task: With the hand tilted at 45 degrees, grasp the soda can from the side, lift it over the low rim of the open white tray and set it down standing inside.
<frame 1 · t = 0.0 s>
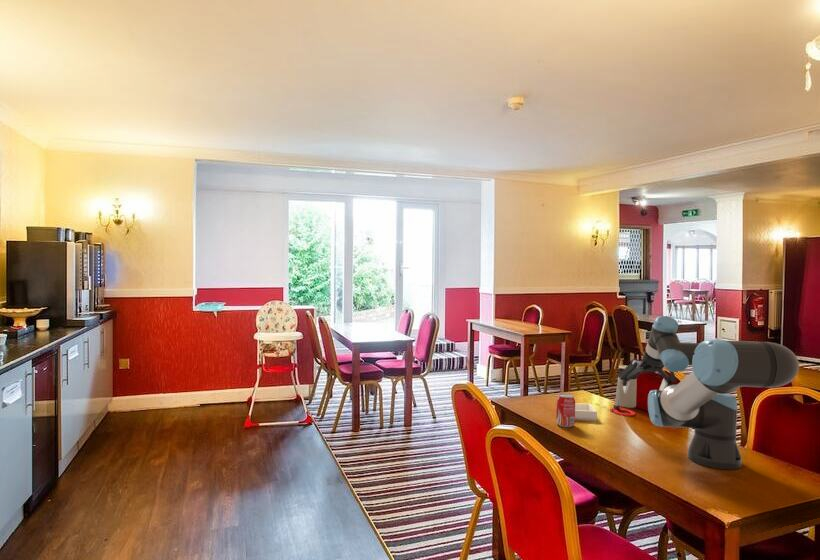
hand: (642, 391, 195), 15 cm above the table, tool tilted 35°, fingers open, 13 cm apart
soda can: (565, 425, 200), on the table
travel mug: (626, 406, 231), on the table
open white tray: (578, 416, 213), on the table
tow hook: (623, 413, 219), on the table
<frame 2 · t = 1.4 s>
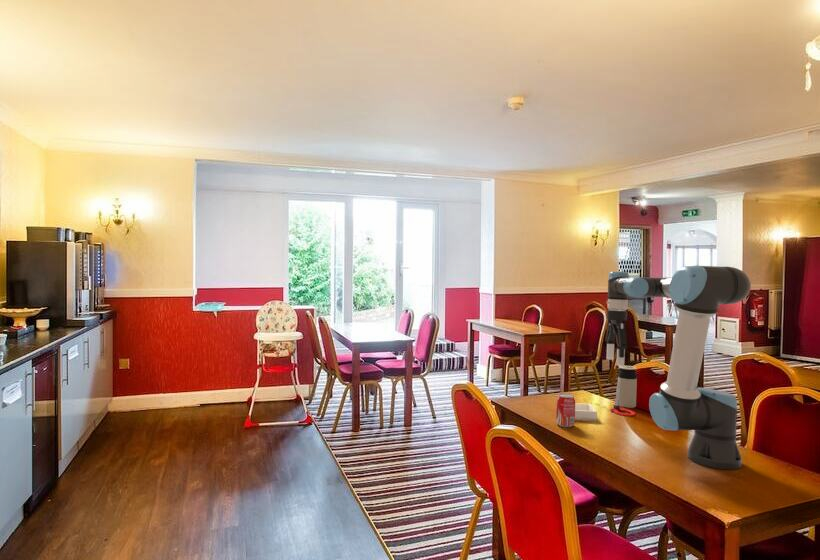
hand: (615, 362, 203), 25 cm above the table, tool pointing down, fingers open, 13 cm apart
nothing on the table moved.
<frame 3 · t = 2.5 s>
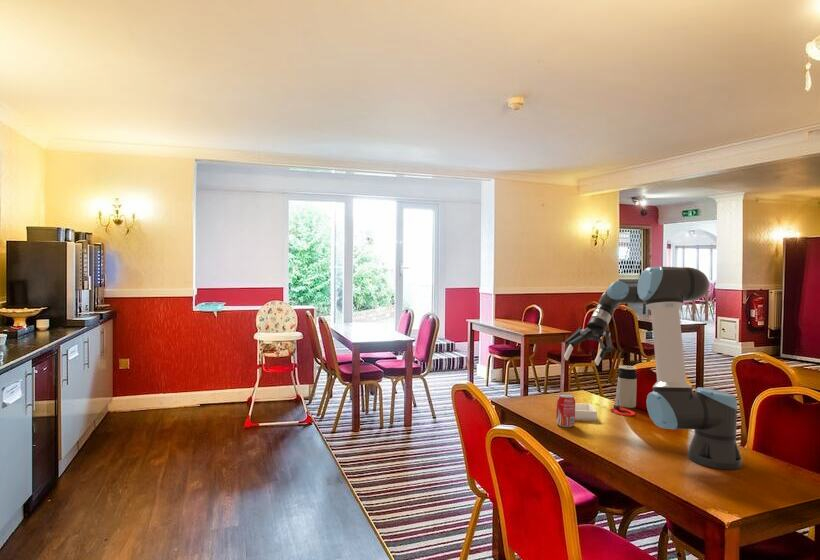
hand: (580, 360, 206), 25 cm above the table, tool tilted 45°, fingers open, 13 cm apart
nothing on the table moved.
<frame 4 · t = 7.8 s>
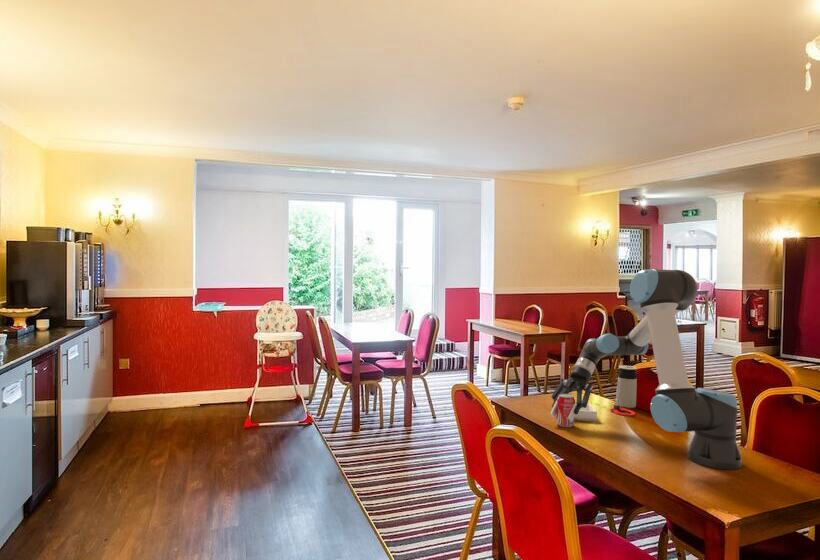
hand: (560, 417, 197), 4 cm above the table, tool tilted 45°, fingers closed on soda can, 7 cm apart
soda can: (565, 425, 200), on the table, touching gripper
everything else where it was.
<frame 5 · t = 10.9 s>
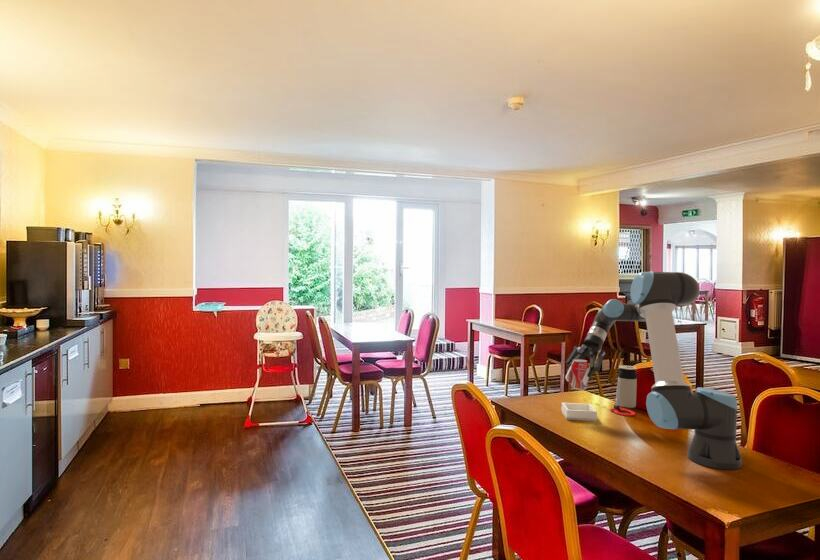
hand: (575, 380, 210), 16 cm above the table, tool tilted 45°, fingers closed on soda can, 7 cm apart
soda can: (579, 389, 212), point 12 cm above the table, touching gripper
everything else where it was.
when the fingers open (6 cm above the table, at t = 13.9 s): soda can drops 1 cm, resting on open white tray.
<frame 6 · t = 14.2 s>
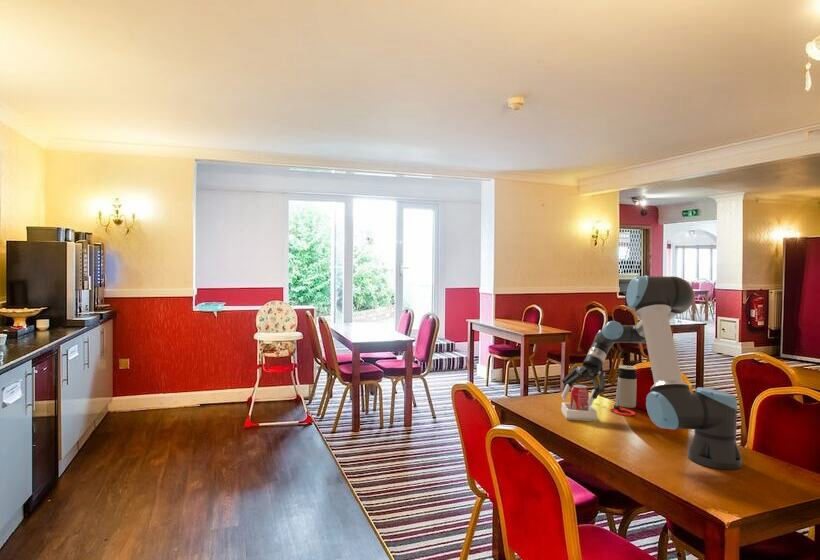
hand: (575, 401, 211), 7 cm above the table, tool tilted 45°, fingers open, 11 cm apart
soda can: (579, 414, 212), point 1 cm above the table, touching open white tray
everything else where it was.
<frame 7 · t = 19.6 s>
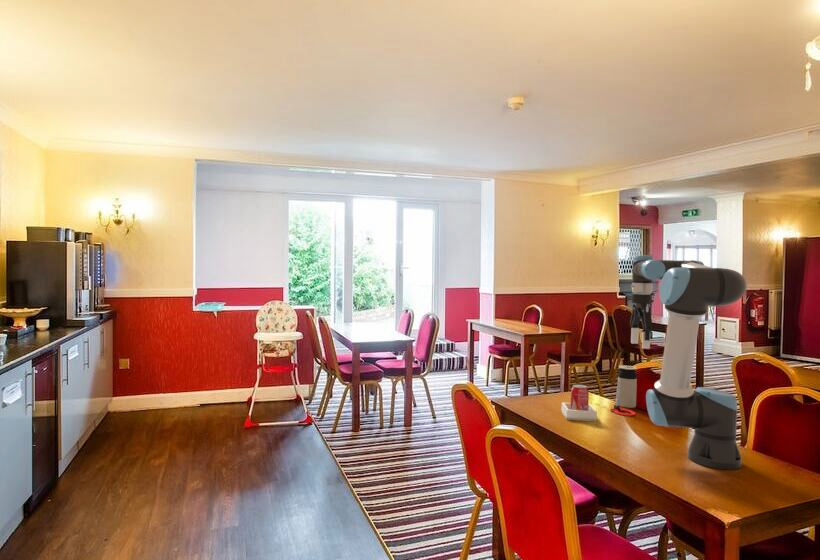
hand: (640, 346, 203), 32 cm above the table, tool pointing down, fingers open, 13 cm apart
nothing on the table moved.
at the end: soda can 0.3 cm off-centre on the open white tray, point 0.8 cm above the open white tray's base; soda can tilted 0°; the gripper is holding nothing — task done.
